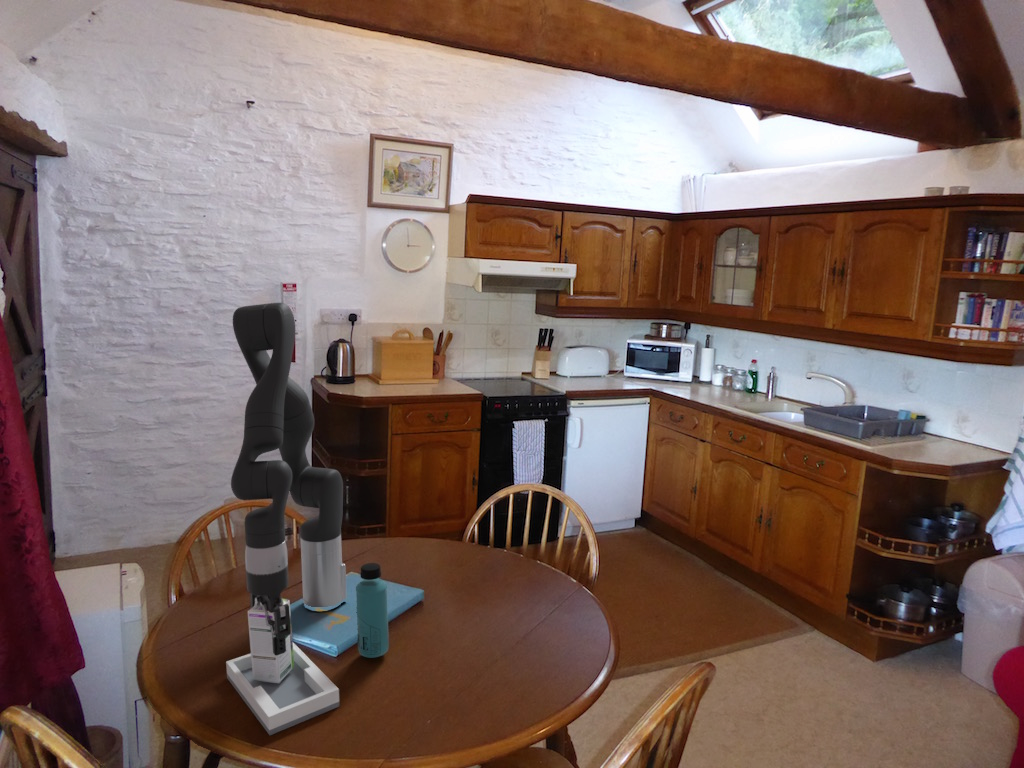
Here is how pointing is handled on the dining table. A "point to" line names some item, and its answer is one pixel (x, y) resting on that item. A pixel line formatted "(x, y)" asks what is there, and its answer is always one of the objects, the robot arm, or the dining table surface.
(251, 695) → the white shallow tray
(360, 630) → the beverage bottle
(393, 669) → the dining table surface
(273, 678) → the syrup box
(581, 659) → the dining table surface
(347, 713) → the dining table surface
